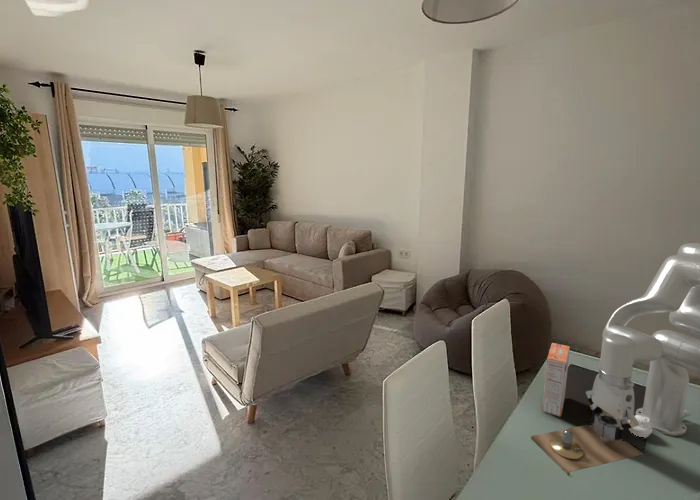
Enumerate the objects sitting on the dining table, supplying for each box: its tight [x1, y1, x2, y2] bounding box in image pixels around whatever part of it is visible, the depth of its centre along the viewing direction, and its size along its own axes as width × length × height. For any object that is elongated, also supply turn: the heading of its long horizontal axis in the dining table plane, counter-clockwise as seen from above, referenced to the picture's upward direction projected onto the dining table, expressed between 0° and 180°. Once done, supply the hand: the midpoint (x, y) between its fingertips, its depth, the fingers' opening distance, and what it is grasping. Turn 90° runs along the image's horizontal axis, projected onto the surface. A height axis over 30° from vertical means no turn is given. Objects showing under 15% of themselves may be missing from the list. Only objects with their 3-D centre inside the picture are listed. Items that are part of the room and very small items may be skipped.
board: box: [530, 424, 644, 476], centre depth 105 cm, size 26×14×6 cm, turn 103°
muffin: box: [628, 414, 653, 439], centre depth 109 cm, size 6×6×7 cm
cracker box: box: [542, 342, 571, 418], centre depth 123 cm, size 14×6×21 cm, turn 144°
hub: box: [550, 429, 583, 460], centre depth 103 cm, size 8×8×6 cm
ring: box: [592, 412, 624, 441], centre depth 106 cm, size 7×7×4 cm
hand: (607, 429), depth 106 cm, fingers closed on ring, 7 cm apart
